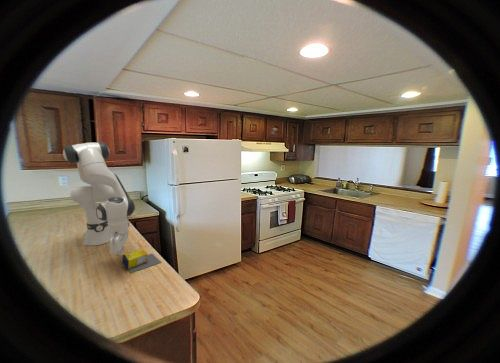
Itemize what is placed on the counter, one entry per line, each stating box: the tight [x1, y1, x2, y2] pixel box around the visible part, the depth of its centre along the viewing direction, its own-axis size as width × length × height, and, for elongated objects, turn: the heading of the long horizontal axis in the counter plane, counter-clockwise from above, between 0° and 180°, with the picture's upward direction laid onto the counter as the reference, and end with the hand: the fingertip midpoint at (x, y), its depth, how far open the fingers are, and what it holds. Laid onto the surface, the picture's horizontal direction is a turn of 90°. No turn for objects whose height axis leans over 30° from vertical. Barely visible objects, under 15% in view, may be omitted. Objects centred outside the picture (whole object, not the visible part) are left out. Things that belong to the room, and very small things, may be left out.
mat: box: [127, 253, 162, 274], centre depth 126 cm, size 14×16×1 cm
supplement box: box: [121, 247, 148, 270], centre depth 123 cm, size 6×6×11 cm
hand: (120, 253), depth 118 cm, fingers closed
